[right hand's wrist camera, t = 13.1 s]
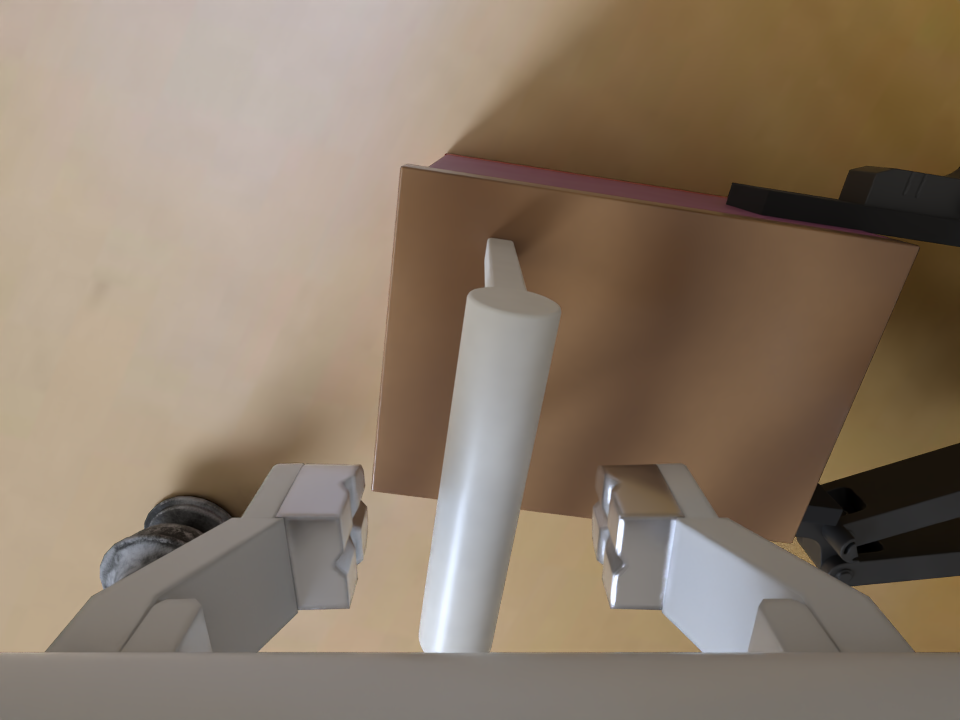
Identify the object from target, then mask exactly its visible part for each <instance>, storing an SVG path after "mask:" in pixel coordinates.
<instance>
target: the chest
mask: <svg viewBox="0 0 960 720" xmlns="http://www.w3.org/2000/svg"><path fill="white" fill-rule="evenodd" d="M429 167H432V168H438V169H445V170H451V171H458V172H464V173H471V174H477V175H483V176H490V177H496V178H503V179H509V180H516V181H522V182H529V183H535V184H542V185H548V186H555V187H561V188H567V189H574V190H580V191H587V192H593V193H600V194H606V195H613V196H619V197H626V198H632V199H638V200H645V201H651V202H658V203H664V204H671V205H677V206H684V207H690V208H697V209H703V210H710V211H716V212H722V213H729V214H735V215H742V216H748V217H755V218H761V219H768V220H774V221H781V222H787V223H793V224H800V225H806V226H813V227H819V228H826V229H832V230H839V231H845V232H852V233H858V234H865V235H871V236H877V237H884V236H880V235H876V234H872V233H869V232H865V231H861V230H854V229H848V228H841V227H835V226H828V225H822V224H815V223H809V222H803V221H796V220H790V219H783V218H777V217H770V216H764V215H759V214H756V213H753V212H749V211H746V210H743V209H739V208H736V207H733V206H729V205H726V202H727V198H728V197H724V196H717V195H711V194H705V193H698V192H692V191H685V190H679V189H673V188H666V187H660V186H653V185H647V184H641V183H634V182H628V181H621V180H615V179H609V178H602V177H596V176H589V175H583V174H577V173H570V172H564V171H557V170H551V169H545V168H538V167H532V166H525V165H519V164H513V163H506V162H500V161H493V160H487V159H481V158H474V157H468V156H461V155H455V154H449V153H446V154H445V156H444V157H442V158H441V159H439V160H438V161H436V162H435V163H433V164H432V165H431V166H429ZM884 238H888V237H884Z"/></svg>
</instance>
